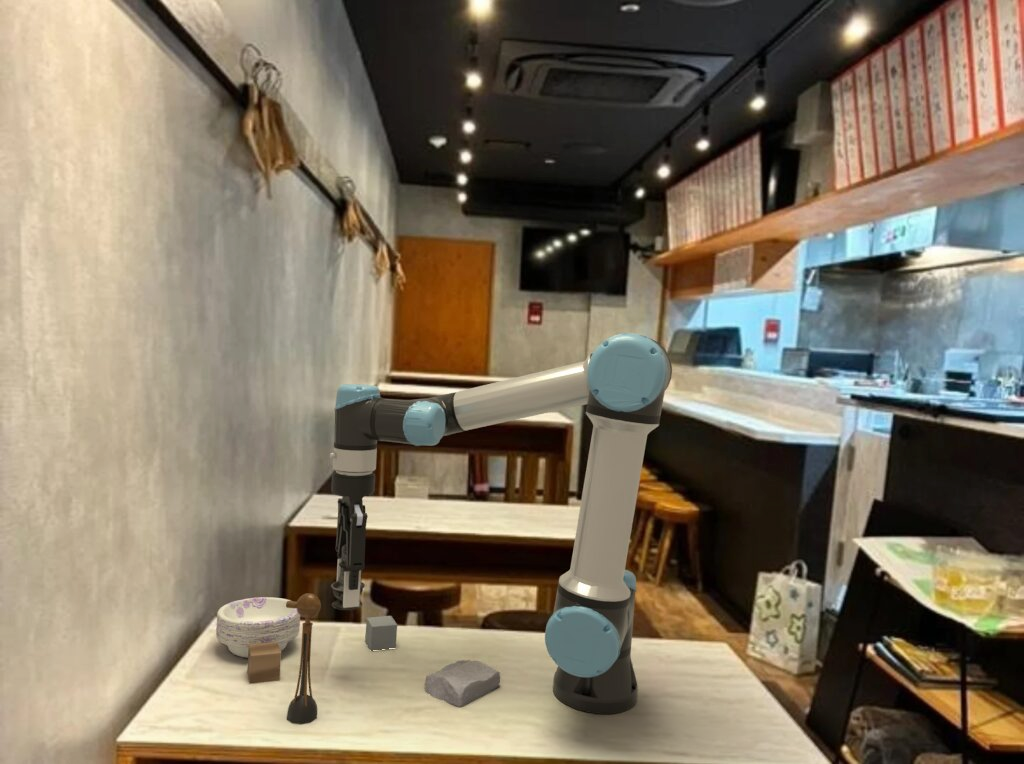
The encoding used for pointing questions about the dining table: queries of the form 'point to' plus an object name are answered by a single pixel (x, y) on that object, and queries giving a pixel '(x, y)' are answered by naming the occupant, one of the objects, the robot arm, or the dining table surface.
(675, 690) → the dining table surface
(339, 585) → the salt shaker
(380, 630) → the slate cube
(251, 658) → the walnut cube
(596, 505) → the robot arm
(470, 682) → the stone block
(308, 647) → the wooden tabletop sculpture
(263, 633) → the paper bowls
